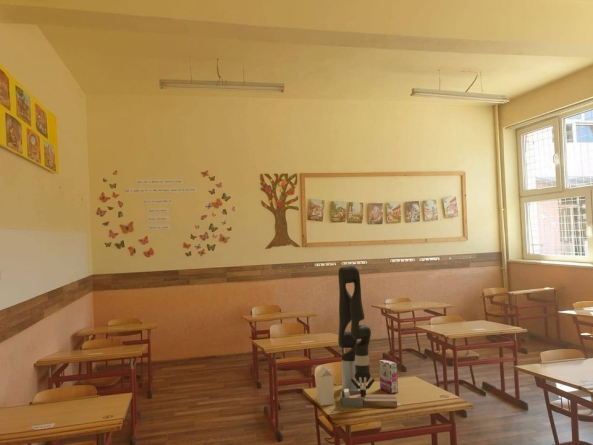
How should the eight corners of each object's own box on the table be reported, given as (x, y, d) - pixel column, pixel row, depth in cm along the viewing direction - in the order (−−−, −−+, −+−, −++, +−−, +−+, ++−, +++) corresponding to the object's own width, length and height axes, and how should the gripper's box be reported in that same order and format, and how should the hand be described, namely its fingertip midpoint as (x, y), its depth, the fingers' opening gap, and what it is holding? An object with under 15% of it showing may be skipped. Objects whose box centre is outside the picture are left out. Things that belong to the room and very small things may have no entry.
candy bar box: (398, 392, 259) (397, 363, 260) (391, 394, 257) (390, 364, 258) (386, 387, 269) (385, 359, 270) (379, 388, 267) (378, 360, 268)
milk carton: (321, 406, 240) (320, 369, 241) (317, 401, 247) (316, 366, 248) (334, 404, 242) (333, 367, 243) (329, 400, 249) (328, 364, 250)
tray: (341, 399, 251) (341, 390, 251) (362, 399, 249) (362, 390, 249) (340, 407, 238) (340, 397, 238) (363, 407, 236) (362, 398, 237)
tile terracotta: (350, 400, 245) (349, 396, 246) (361, 398, 245) (360, 394, 245) (350, 404, 240) (349, 399, 240) (362, 402, 239) (361, 397, 239)
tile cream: (350, 399, 246) (345, 400, 246) (348, 388, 247) (344, 389, 247) (350, 403, 240) (346, 404, 240) (348, 391, 241) (344, 392, 241)
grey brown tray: (363, 399, 248) (363, 394, 248) (395, 400, 246) (395, 394, 246) (363, 406, 237) (363, 400, 237) (397, 407, 235) (397, 401, 235)
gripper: (374, 361, 247) (375, 394, 246) (349, 361, 248) (350, 394, 247) (375, 365, 240) (376, 399, 238) (349, 365, 241) (350, 398, 240)
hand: (363, 396), depth 243 cm, fingers closed
